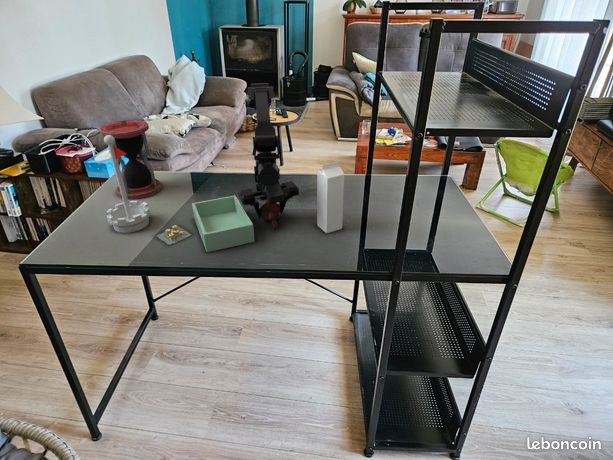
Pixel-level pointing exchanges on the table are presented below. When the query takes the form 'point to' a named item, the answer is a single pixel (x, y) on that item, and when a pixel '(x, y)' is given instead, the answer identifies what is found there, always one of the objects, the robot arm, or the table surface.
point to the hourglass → (133, 157)
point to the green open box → (222, 223)
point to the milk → (330, 197)
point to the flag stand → (125, 200)
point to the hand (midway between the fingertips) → (270, 216)
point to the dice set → (173, 235)
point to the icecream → (270, 213)
